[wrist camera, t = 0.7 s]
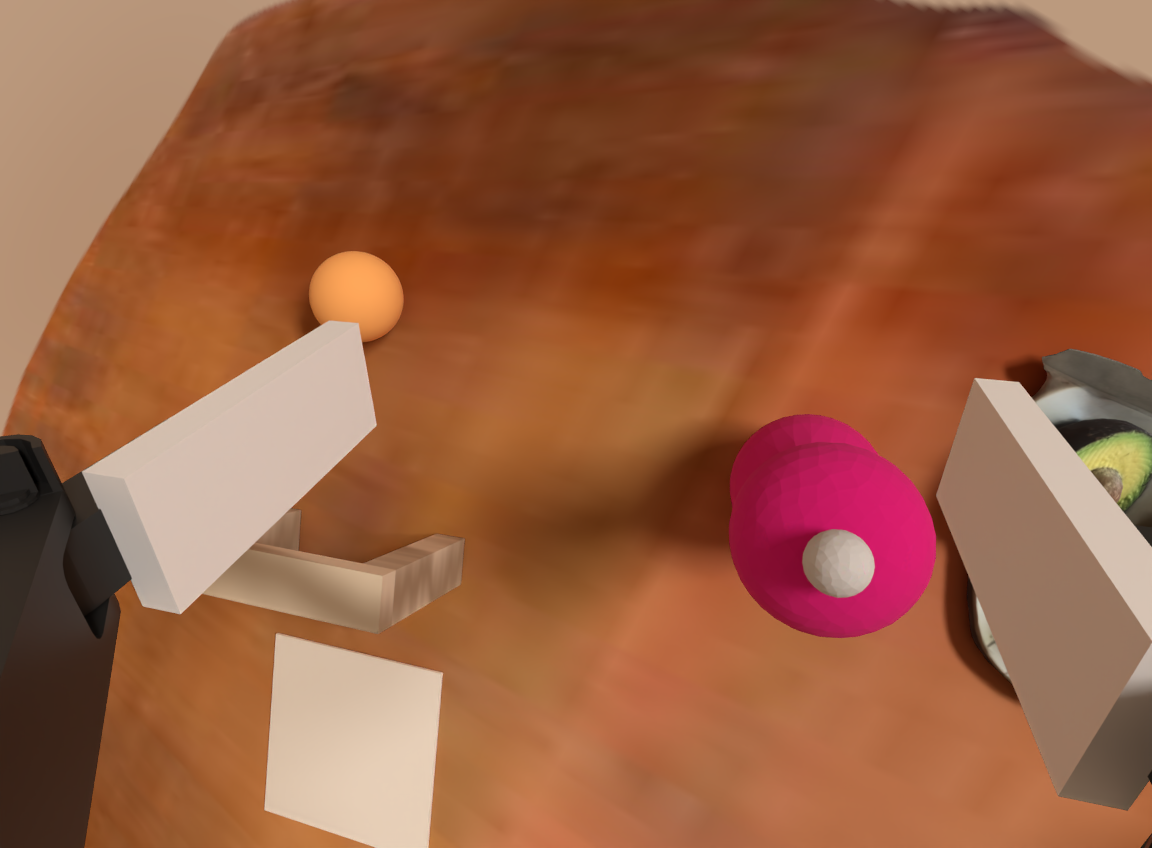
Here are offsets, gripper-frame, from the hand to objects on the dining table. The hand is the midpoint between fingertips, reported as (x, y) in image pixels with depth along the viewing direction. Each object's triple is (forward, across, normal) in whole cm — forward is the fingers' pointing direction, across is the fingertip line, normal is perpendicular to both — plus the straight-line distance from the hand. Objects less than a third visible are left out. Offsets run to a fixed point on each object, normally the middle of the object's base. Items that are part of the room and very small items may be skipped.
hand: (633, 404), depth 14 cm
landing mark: (+11, +20, +34) cm, 41 cm away
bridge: (+17, +20, +22) cm, 34 cm away
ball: (+22, +20, +6) cm, 30 cm away
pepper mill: (+19, -7, +14) cm, 24 cm away
